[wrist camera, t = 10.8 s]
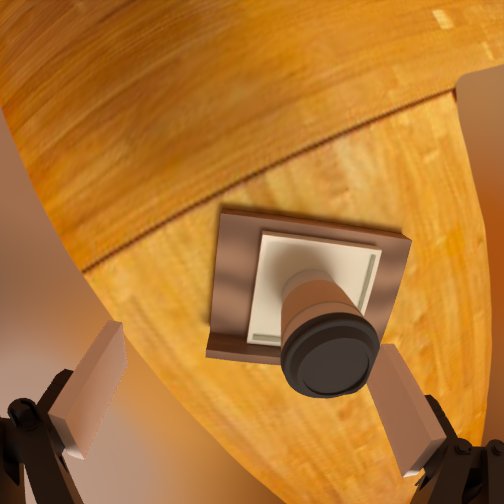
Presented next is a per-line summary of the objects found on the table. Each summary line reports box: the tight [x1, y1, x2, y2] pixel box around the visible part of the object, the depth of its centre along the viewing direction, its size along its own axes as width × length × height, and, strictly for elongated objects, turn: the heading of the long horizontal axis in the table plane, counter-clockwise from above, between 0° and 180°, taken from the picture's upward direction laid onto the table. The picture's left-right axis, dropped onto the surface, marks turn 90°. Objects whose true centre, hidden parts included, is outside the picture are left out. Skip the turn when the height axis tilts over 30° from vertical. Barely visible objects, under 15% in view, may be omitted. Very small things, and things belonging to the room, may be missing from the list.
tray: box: [247, 231, 382, 346], centre depth 38 cm, size 14×14×2 cm
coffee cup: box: [280, 269, 380, 398], centre depth 31 cm, size 9×9×15 cm
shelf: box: [206, 208, 412, 365], centre depth 39 cm, size 17×24×7 cm
